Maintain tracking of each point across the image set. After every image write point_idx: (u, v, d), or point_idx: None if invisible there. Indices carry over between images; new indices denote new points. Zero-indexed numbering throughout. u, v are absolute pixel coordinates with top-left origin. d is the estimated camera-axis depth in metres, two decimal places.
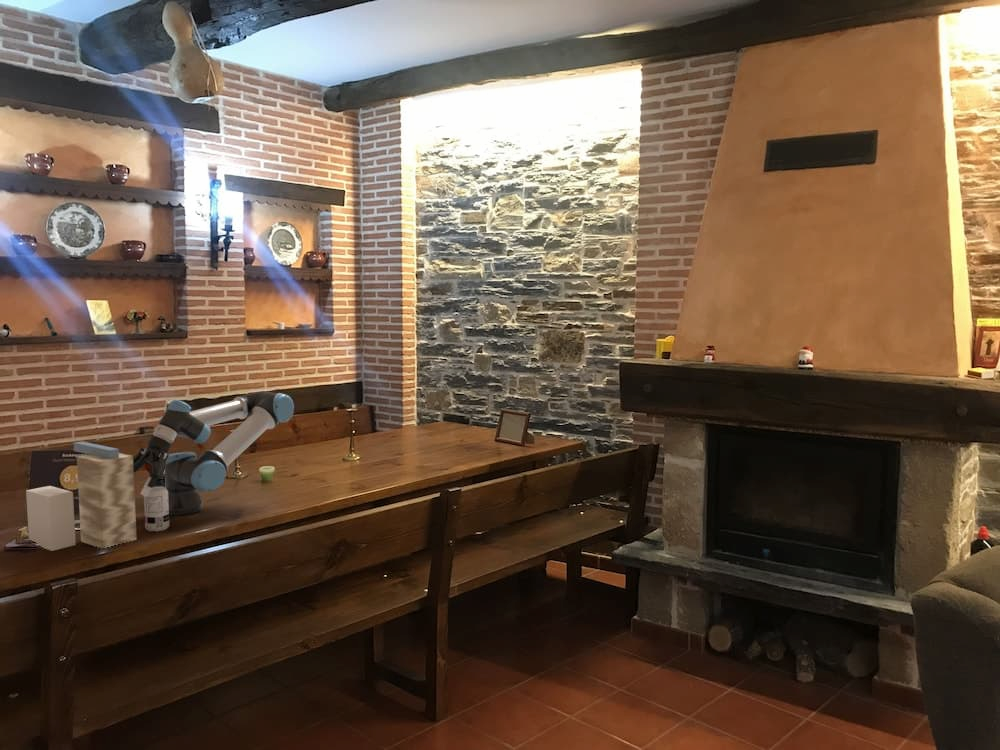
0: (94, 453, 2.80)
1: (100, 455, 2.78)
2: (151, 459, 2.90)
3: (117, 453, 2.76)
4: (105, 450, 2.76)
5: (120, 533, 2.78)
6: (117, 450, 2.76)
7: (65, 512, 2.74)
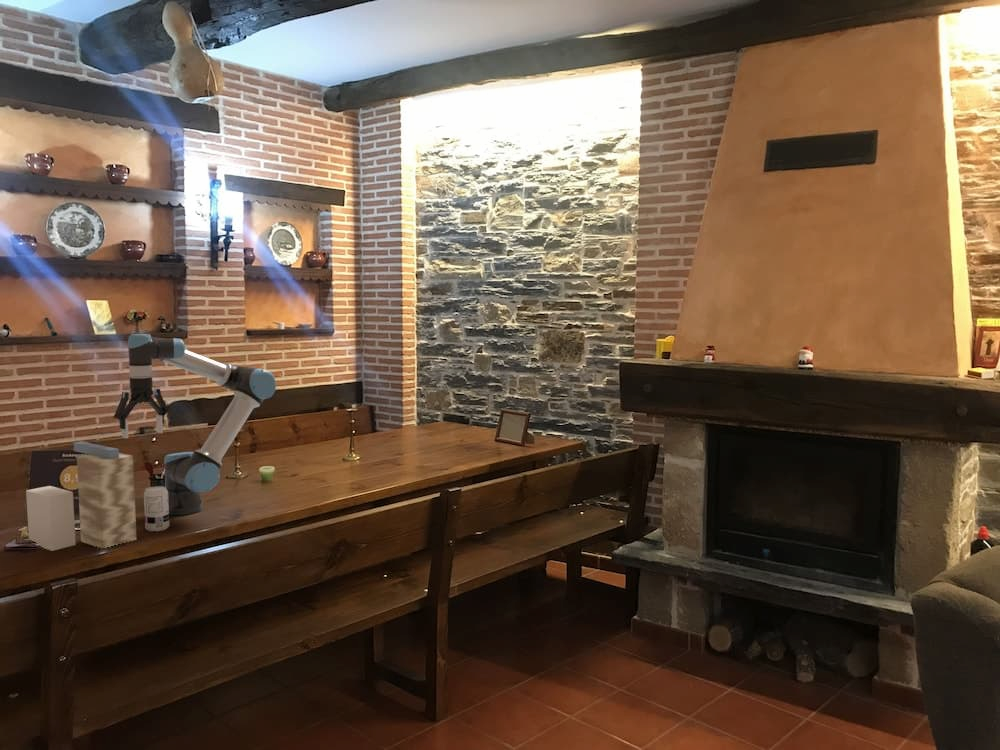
0: (94, 453, 2.80)
1: (100, 455, 2.78)
2: None
3: (117, 453, 2.76)
4: (105, 450, 2.76)
5: (120, 533, 2.78)
6: (117, 450, 2.76)
7: (65, 512, 2.74)
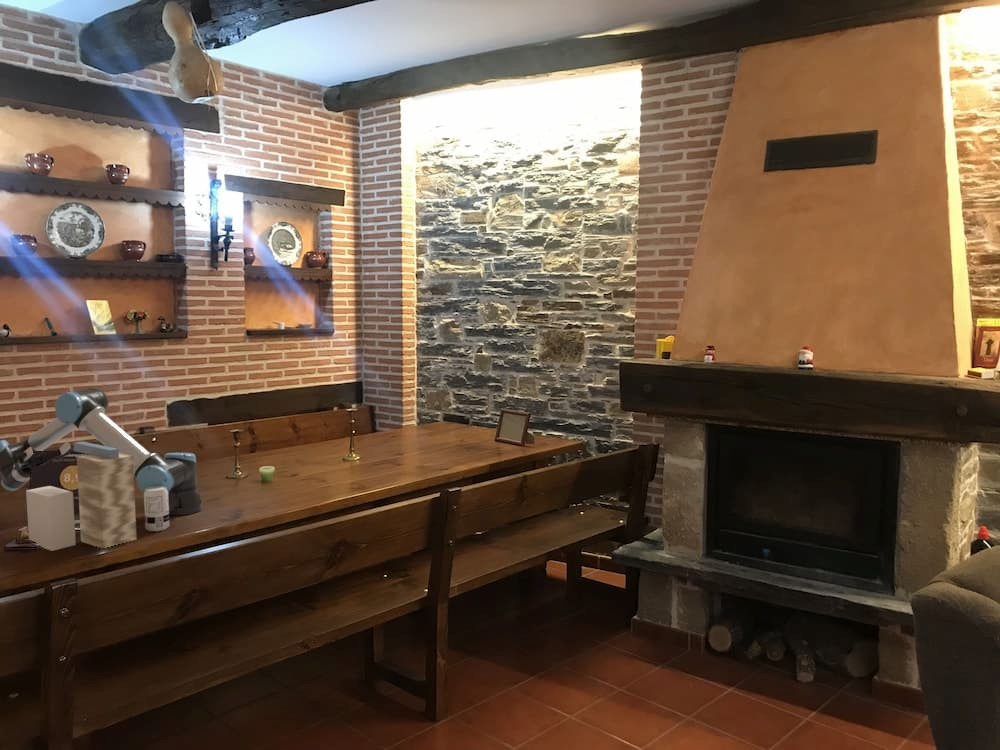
0: (94, 453, 2.80)
1: (100, 455, 2.78)
2: (29, 465, 3.03)
3: (117, 453, 2.76)
4: (105, 450, 2.76)
5: (120, 533, 2.78)
6: (117, 450, 2.76)
7: (65, 512, 2.74)
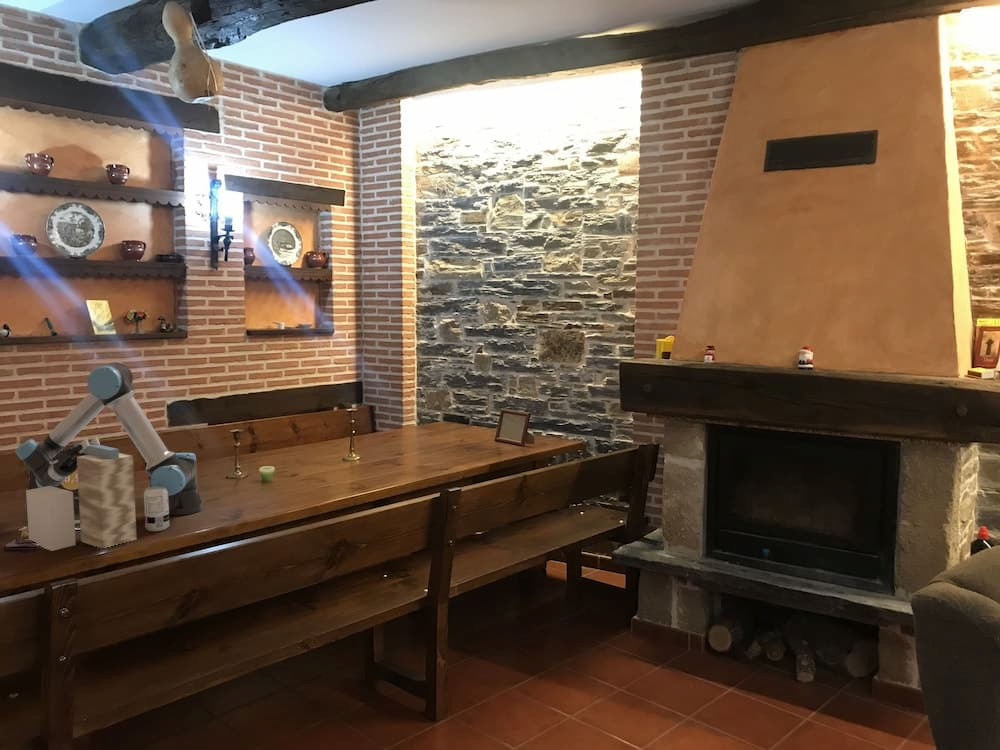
0: (94, 453, 2.80)
1: (100, 455, 2.78)
2: (71, 462, 2.88)
3: (117, 453, 2.76)
4: (105, 450, 2.76)
5: (120, 533, 2.78)
6: (117, 450, 2.76)
7: (65, 512, 2.74)
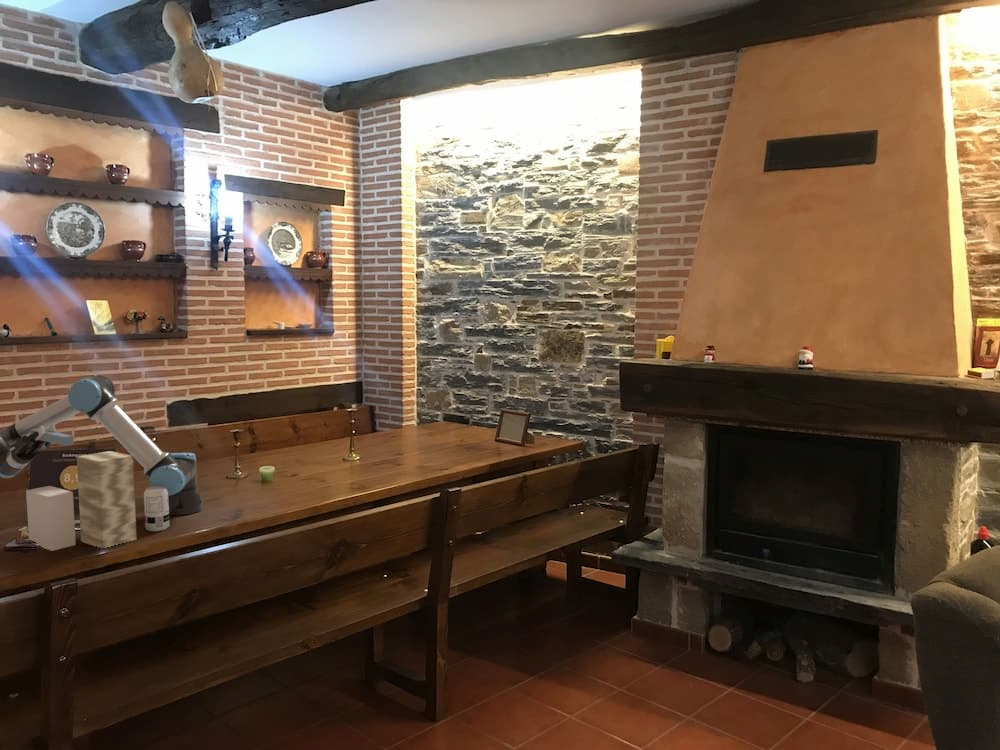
0: (49, 440, 2.77)
1: (55, 442, 2.75)
2: (28, 449, 2.86)
3: (72, 440, 2.74)
4: (60, 437, 2.73)
5: (120, 533, 2.78)
6: (72, 437, 2.74)
7: (65, 512, 2.74)
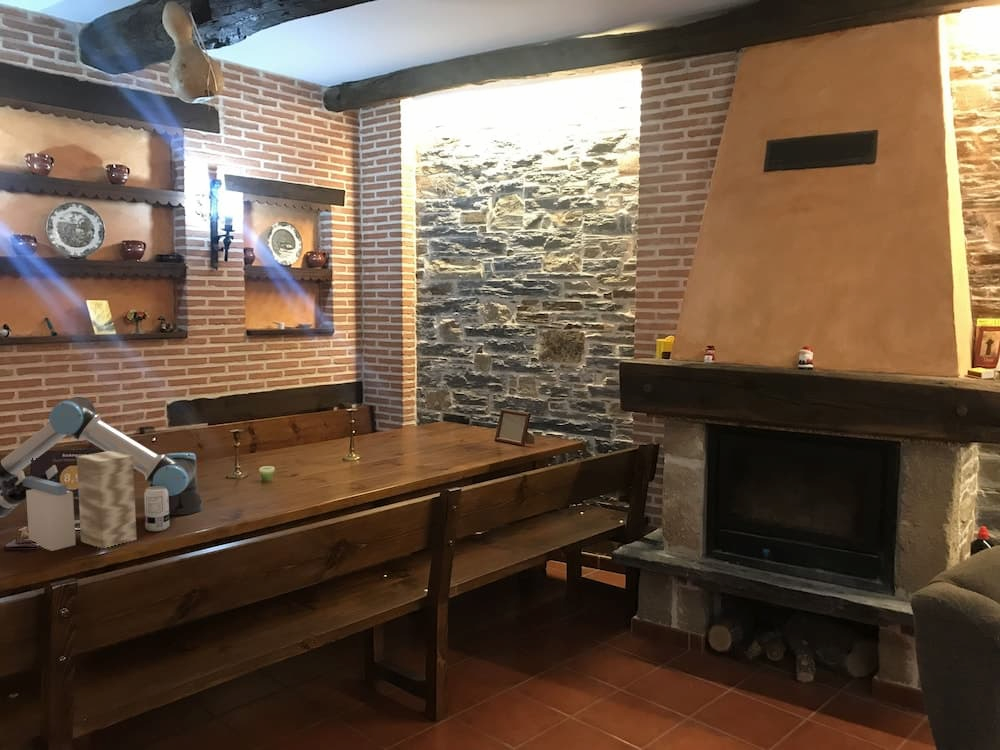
0: (42, 489, 2.76)
1: (48, 491, 2.74)
2: (17, 491, 2.83)
3: (65, 489, 2.72)
4: (53, 486, 2.72)
5: (120, 533, 2.78)
6: (65, 486, 2.72)
7: (65, 512, 2.74)
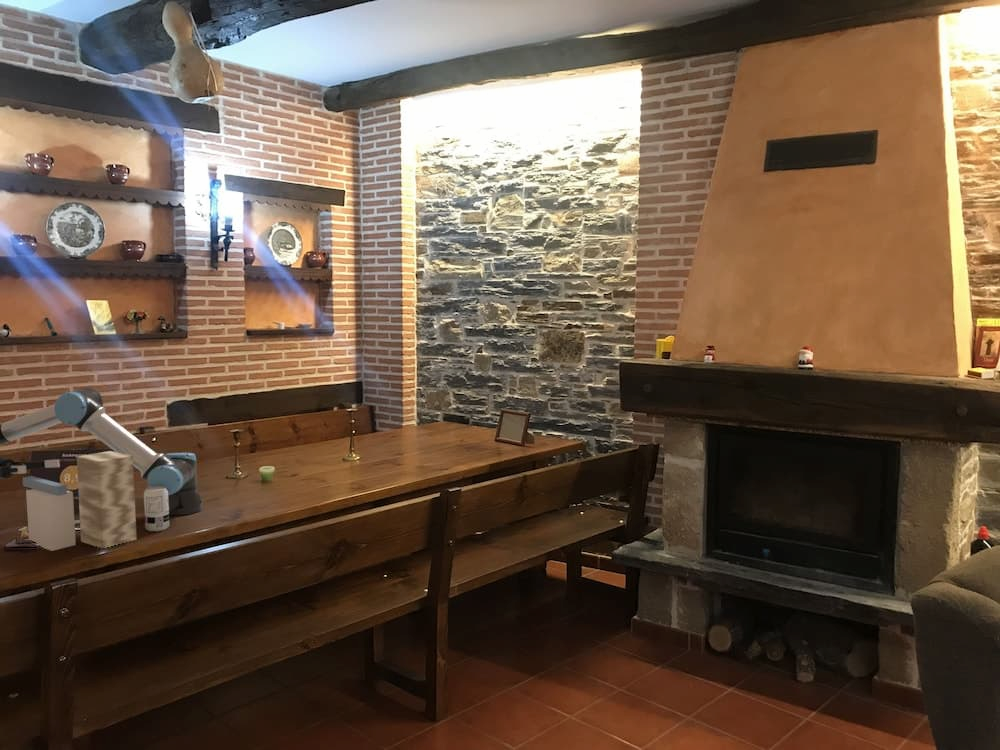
0: (42, 489, 2.76)
1: (48, 491, 2.74)
2: None
3: (65, 489, 2.72)
4: (53, 486, 2.72)
5: (120, 533, 2.78)
6: (65, 486, 2.72)
7: (65, 512, 2.74)
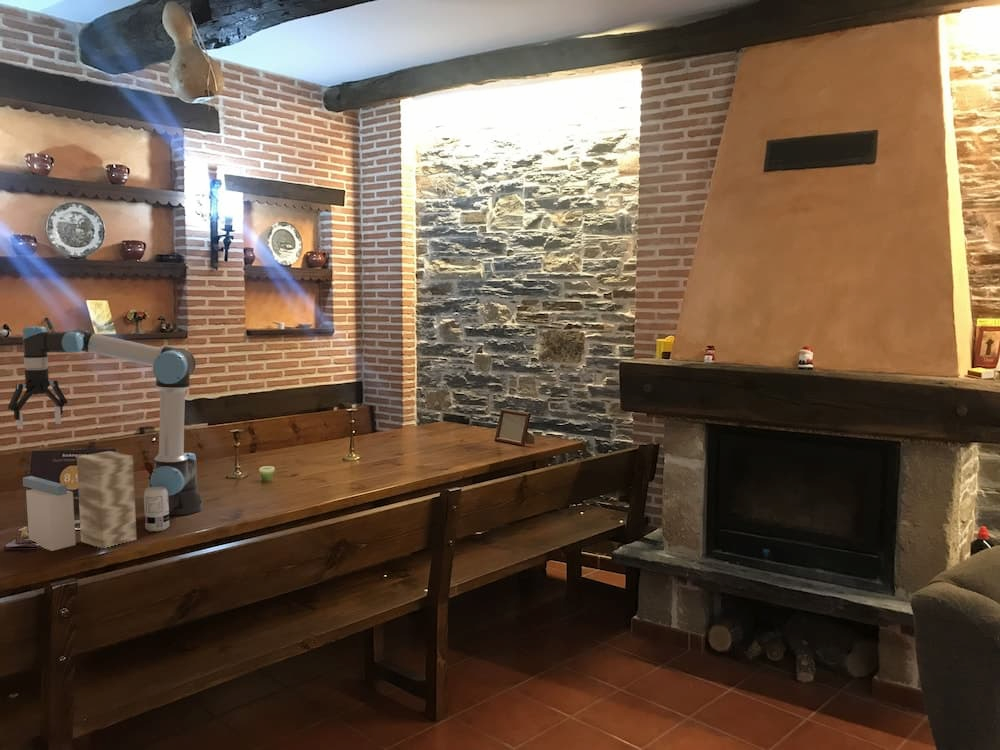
0: (42, 489, 2.76)
1: (48, 491, 2.74)
2: None
3: (65, 489, 2.72)
4: (53, 486, 2.72)
5: (120, 533, 2.78)
6: (65, 486, 2.72)
7: (65, 512, 2.74)
